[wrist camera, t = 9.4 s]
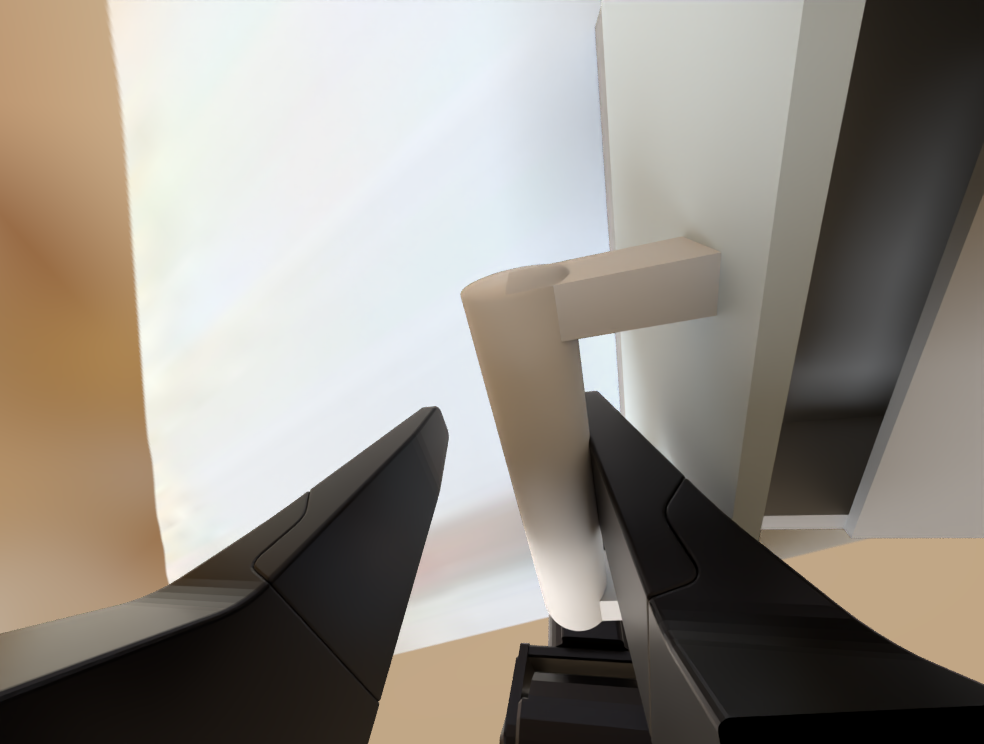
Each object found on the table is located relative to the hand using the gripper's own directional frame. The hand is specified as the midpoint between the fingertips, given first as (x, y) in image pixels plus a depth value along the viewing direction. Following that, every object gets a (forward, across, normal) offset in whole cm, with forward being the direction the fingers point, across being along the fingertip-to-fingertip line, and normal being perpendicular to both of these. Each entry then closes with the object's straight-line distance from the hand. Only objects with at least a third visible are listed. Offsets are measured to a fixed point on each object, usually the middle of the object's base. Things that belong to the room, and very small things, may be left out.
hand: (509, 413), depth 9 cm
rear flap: (0, -4, 0) cm, 4 cm away
